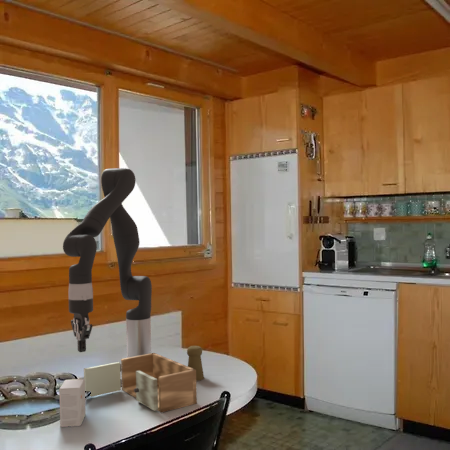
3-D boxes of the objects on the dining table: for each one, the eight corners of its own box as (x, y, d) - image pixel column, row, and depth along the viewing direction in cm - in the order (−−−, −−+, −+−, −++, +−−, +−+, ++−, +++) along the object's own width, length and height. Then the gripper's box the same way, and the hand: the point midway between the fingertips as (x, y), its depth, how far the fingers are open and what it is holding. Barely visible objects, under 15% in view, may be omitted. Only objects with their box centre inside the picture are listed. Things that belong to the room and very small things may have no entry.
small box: (65, 416, 150) (65, 379, 150) (86, 415, 150) (85, 378, 150) (59, 427, 142) (58, 388, 142) (80, 426, 142) (79, 387, 142)
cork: (201, 381, 179) (200, 348, 179) (184, 380, 180) (183, 348, 180) (205, 376, 185) (205, 344, 185) (189, 375, 186) (188, 344, 186)
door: (119, 387, 172) (119, 360, 172) (122, 389, 170) (122, 362, 170) (83, 396, 165) (82, 367, 165) (85, 397, 163) (85, 369, 163)
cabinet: (114, 391, 170) (113, 360, 170) (154, 382, 179) (154, 352, 179) (153, 414, 149) (152, 379, 149) (196, 403, 158) (196, 369, 158)
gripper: (62, 296, 172) (63, 349, 173) (76, 300, 162) (78, 357, 162) (84, 294, 177) (85, 346, 177) (100, 298, 166) (101, 353, 166)
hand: (81, 351), depth 169 cm, fingers closed
